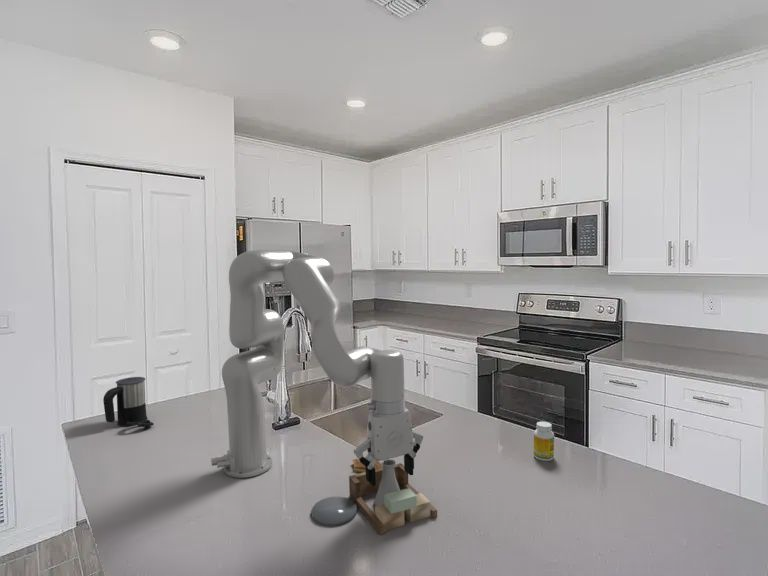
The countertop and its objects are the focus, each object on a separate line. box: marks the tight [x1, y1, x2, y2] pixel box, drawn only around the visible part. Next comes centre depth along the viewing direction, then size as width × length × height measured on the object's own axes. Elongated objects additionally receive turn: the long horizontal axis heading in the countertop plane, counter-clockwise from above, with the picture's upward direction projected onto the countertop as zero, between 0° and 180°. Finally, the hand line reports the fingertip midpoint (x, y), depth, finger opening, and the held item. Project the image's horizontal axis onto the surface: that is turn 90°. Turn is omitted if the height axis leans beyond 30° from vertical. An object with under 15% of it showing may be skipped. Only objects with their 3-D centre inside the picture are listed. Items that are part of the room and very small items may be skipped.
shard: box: [352, 456, 383, 473], centre depth 119 cm, size 11×8×2 cm
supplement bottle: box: [533, 421, 555, 462], centre depth 126 cm, size 5×5×10 cm
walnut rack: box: [348, 462, 438, 536], centre depth 103 cm, size 14×17×5 cm
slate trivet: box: [311, 496, 358, 527], centre depth 101 cm, size 10×10×1 cm
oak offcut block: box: [374, 504, 405, 532], centre depth 96 cm, size 5×4×4 cm
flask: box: [373, 458, 401, 507], centre depth 104 cm, size 7×7×10 cm
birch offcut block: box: [404, 492, 431, 523], centre depth 99 cm, size 5×4×4 cm
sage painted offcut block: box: [384, 488, 417, 514], centre depth 97 cm, size 6×4×2 cm, turn 114°
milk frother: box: [102, 376, 154, 429], centre depth 154 cm, size 14×16×15 cm
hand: (390, 477), depth 103 cm, fingers open, 9 cm apart
